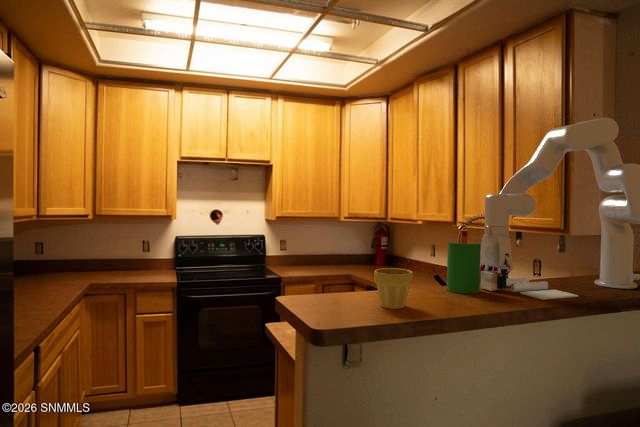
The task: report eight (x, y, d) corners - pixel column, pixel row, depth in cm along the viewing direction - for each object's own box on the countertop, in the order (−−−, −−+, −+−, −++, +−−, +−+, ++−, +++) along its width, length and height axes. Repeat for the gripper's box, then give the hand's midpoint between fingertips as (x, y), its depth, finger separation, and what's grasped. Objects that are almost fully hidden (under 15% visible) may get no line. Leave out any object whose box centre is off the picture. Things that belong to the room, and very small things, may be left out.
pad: (554, 291, 150) (554, 289, 150) (578, 296, 142) (578, 295, 142) (520, 293, 146) (520, 292, 146) (542, 299, 137) (542, 298, 137)
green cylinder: (476, 288, 153) (477, 228, 152) (483, 294, 144) (484, 230, 143) (445, 288, 154) (446, 228, 153) (449, 293, 145) (451, 230, 144)
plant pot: (403, 312, 120) (404, 275, 120) (367, 307, 125) (368, 271, 125) (417, 305, 129) (418, 270, 128) (383, 300, 134) (383, 266, 134)
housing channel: (526, 284, 162) (526, 277, 162) (547, 289, 153) (547, 282, 153) (493, 286, 157) (493, 279, 157) (513, 291, 149) (513, 284, 148)
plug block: (492, 286, 155) (493, 270, 154) (503, 289, 150) (503, 272, 150) (480, 287, 153) (480, 271, 153) (490, 290, 148) (490, 273, 148)
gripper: (470, 230, 158) (469, 282, 159) (505, 233, 142) (504, 292, 143) (488, 229, 160) (487, 281, 161) (525, 233, 144) (524, 291, 145)
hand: (495, 286), depth 152 cm, fingers closed on plug block, 5 cm apart
